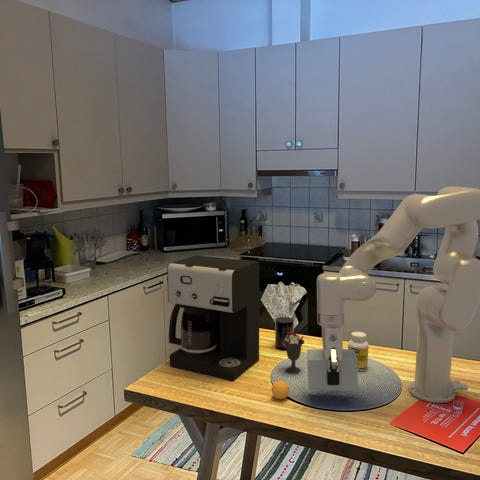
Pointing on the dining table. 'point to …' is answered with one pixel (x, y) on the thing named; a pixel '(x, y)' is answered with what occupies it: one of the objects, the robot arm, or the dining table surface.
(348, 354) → the grey rectangular block
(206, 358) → the coffee maker
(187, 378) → the dining table surface
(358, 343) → the pill bottle
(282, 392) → the ball
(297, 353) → the sundae
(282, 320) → the supplement container
